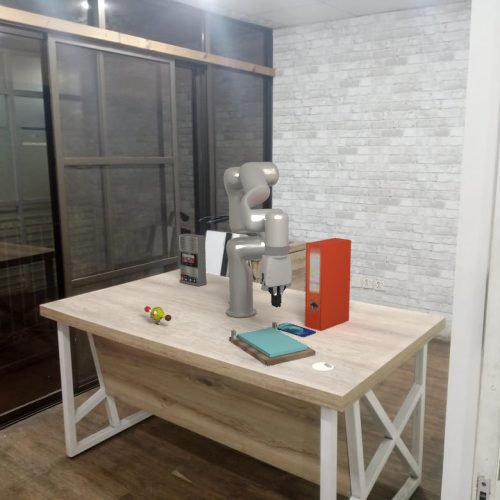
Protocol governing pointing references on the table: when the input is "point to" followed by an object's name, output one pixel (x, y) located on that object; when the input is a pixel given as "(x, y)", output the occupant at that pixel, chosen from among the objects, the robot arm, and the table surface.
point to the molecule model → (157, 314)
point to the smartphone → (295, 329)
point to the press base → (265, 358)
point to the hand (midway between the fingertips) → (276, 306)
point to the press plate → (271, 342)
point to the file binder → (327, 283)
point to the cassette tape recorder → (192, 259)
